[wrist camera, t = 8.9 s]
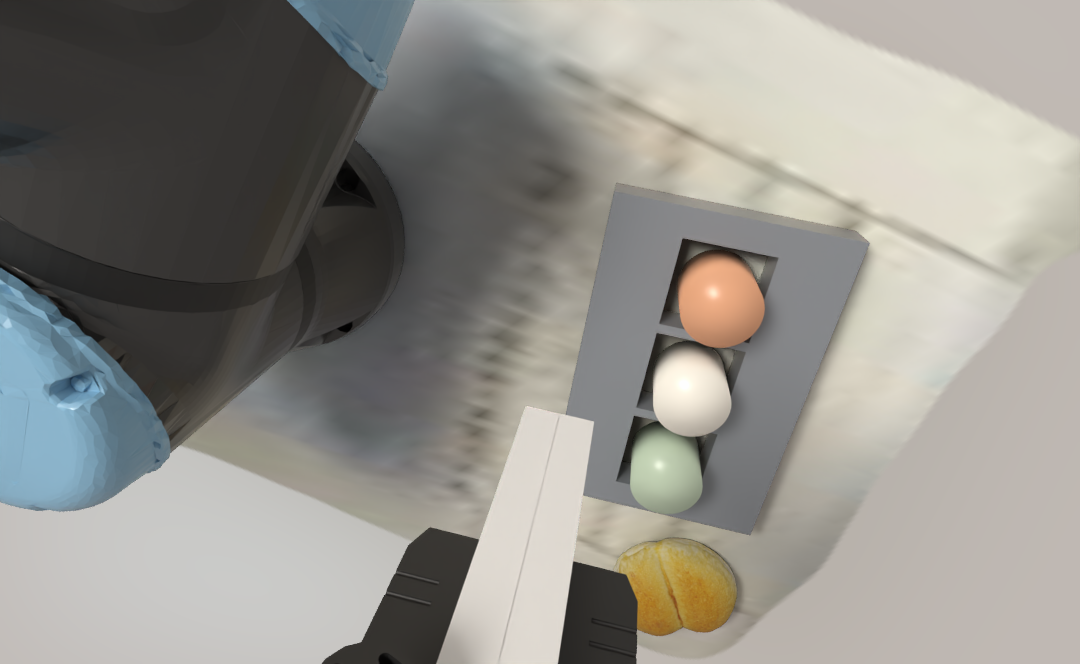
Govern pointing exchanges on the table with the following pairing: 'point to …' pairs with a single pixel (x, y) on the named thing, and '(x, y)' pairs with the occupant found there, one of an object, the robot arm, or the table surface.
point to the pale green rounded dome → (665, 470)
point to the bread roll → (678, 586)
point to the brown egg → (719, 299)
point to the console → (637, 316)
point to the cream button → (690, 389)
